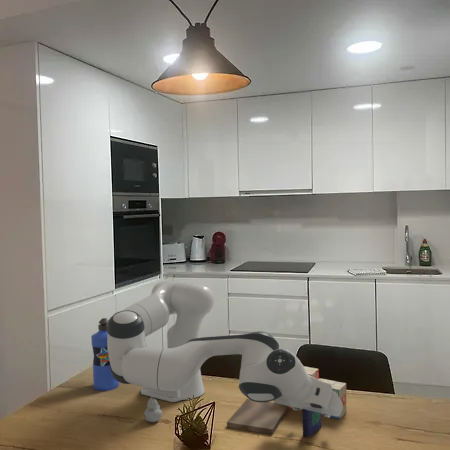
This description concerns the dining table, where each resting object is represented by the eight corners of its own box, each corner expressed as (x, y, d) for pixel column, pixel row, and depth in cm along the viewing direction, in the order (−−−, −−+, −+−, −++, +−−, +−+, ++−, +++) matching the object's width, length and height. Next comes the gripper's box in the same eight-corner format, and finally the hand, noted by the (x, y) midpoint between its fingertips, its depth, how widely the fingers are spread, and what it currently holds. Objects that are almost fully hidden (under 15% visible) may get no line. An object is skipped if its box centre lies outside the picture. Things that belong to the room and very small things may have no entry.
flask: (315, 423, 145) (314, 388, 144) (324, 426, 143) (323, 390, 142) (300, 436, 137) (300, 398, 137) (310, 439, 135) (309, 401, 135)
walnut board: (226, 427, 144) (226, 422, 144) (247, 403, 160) (246, 398, 160) (272, 434, 138) (272, 429, 138) (288, 409, 155) (288, 404, 155)
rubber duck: (140, 424, 147) (139, 398, 147) (150, 414, 153) (149, 389, 153) (157, 426, 145) (156, 399, 145) (166, 416, 152) (165, 391, 151)
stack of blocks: (347, 412, 152) (346, 373, 152) (339, 420, 147) (339, 379, 146) (285, 398, 164) (285, 362, 164) (277, 404, 159) (276, 367, 158)
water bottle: (92, 383, 182) (90, 317, 180) (118, 380, 184) (115, 314, 183) (93, 392, 173) (91, 322, 172) (120, 389, 175) (118, 320, 174)
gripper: (260, 393, 135) (276, 414, 144) (331, 408, 125) (344, 430, 133) (267, 372, 139) (282, 394, 148) (336, 385, 128) (348, 408, 137)
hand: (312, 411), depth 140 cm, fingers open, 8 cm apart
